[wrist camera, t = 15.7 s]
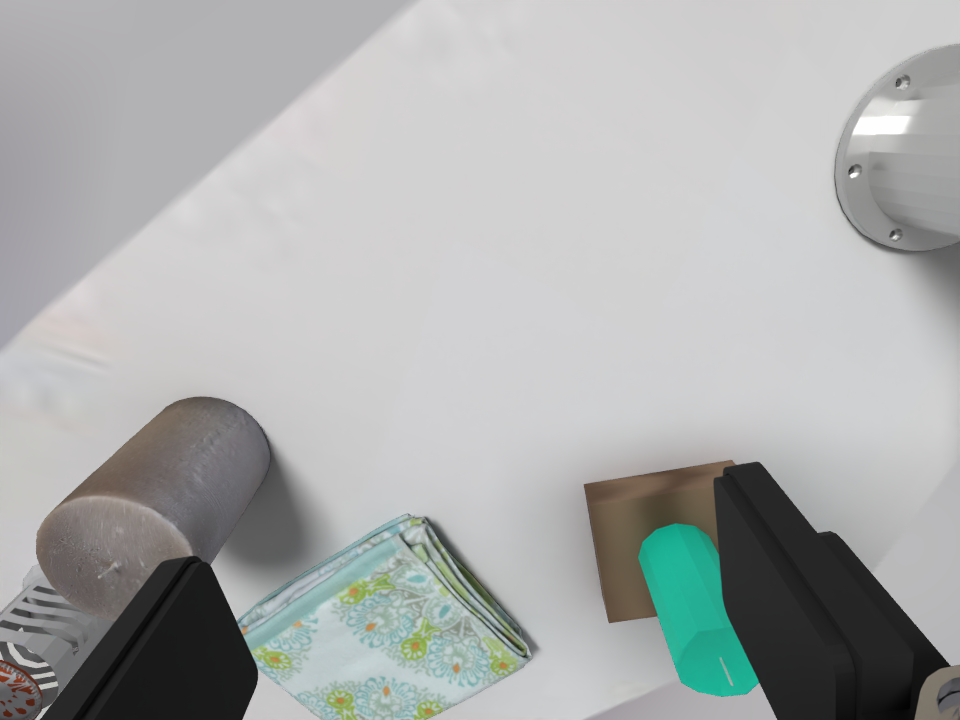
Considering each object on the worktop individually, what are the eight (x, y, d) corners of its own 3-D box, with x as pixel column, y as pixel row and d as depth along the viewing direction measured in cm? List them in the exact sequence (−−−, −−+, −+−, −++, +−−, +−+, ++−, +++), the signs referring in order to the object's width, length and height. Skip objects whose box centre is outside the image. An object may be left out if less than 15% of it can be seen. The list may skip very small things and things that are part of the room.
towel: (537, 631, 55) (542, 679, 50) (361, 721, 60) (350, 773, 55) (419, 495, 50) (411, 534, 45) (237, 606, 55) (212, 651, 50)
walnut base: (732, 460, 48) (747, 480, 45) (739, 577, 52) (753, 602, 49) (583, 484, 49) (589, 505, 46) (602, 597, 53) (608, 623, 50)
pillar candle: (136, 464, 49) (-3, 600, 35) (178, 372, 46) (44, 481, 32) (245, 516, 51) (154, 665, 37) (293, 431, 48) (213, 558, 34)
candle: (727, 560, 48) (799, 693, 36) (662, 595, 49) (713, 733, 38) (689, 510, 46) (752, 632, 35) (623, 547, 47) (664, 676, 36)
